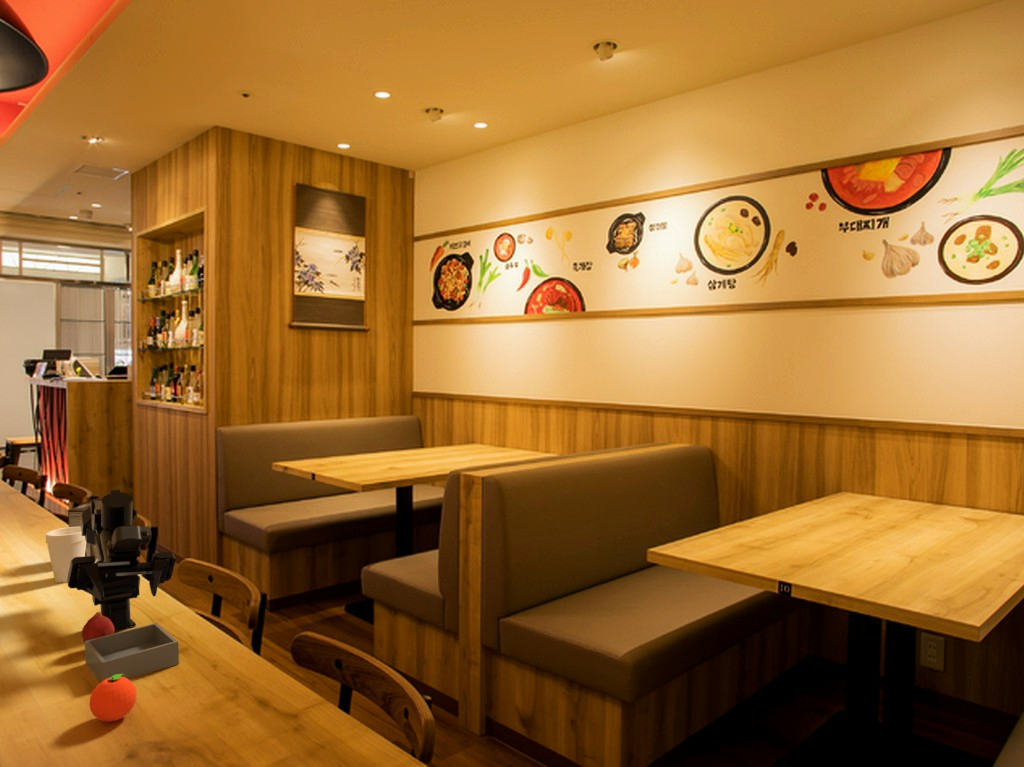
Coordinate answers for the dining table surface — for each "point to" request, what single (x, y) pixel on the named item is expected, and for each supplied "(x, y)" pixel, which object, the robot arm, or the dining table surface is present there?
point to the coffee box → (75, 521)
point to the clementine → (113, 698)
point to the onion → (97, 627)
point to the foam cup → (64, 549)
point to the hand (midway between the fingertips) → (129, 596)
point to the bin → (131, 652)
